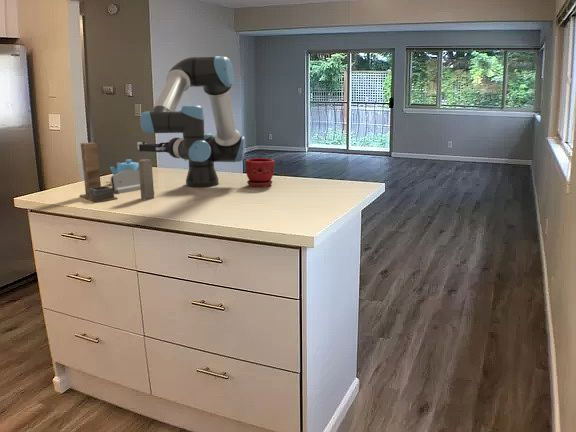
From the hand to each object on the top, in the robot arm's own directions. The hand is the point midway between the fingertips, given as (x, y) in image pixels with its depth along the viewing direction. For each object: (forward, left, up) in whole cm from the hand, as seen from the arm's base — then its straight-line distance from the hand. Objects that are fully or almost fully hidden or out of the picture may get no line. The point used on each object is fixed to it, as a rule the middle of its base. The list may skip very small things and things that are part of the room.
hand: (154, 144), depth 225 cm
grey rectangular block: (+6, -8, -23) cm, 25 cm away
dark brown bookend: (+27, -12, -23) cm, 37 cm away
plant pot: (-42, -29, -23) cm, 57 cm away
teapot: (+21, -50, -24) cm, 59 cm away
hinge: (+17, -28, -24) cm, 40 cm away
